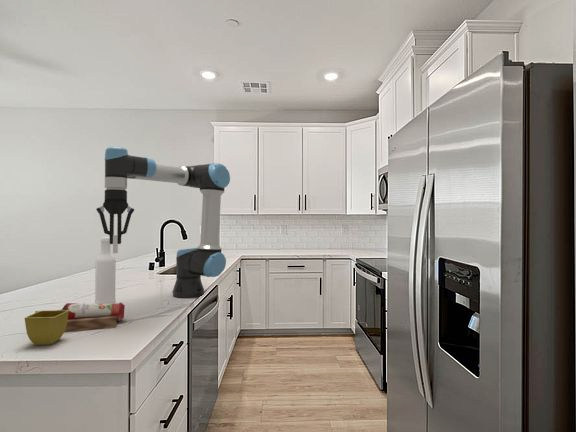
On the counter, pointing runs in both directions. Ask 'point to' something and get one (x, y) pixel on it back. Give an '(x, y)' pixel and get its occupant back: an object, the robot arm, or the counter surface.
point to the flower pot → (46, 326)
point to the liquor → (94, 310)
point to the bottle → (105, 275)
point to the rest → (91, 323)
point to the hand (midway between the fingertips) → (115, 252)
